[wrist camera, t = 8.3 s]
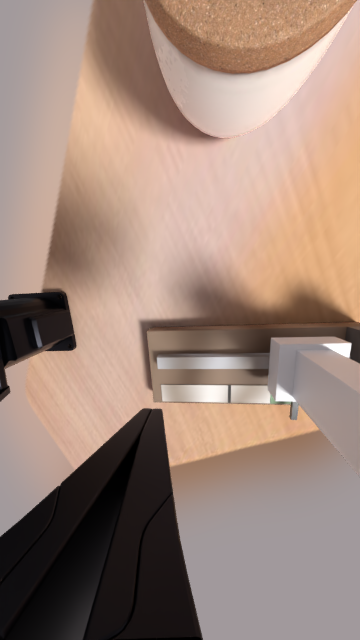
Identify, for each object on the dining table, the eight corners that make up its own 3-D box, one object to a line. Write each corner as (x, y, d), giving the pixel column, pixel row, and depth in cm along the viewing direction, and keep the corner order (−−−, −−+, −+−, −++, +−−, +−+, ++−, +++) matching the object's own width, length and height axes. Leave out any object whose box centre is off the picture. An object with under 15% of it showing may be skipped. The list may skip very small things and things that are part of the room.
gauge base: (156, 393, 20) (138, 445, 13) (150, 327, 18) (126, 352, 12) (343, 395, 18) (425, 459, 11) (356, 321, 16) (462, 348, 10)
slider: (264, 416, 16) (360, 603, 7) (270, 337, 15) (408, 440, 5) (320, 418, 16) (507, 622, 6) (332, 335, 14) (616, 448, 5)
